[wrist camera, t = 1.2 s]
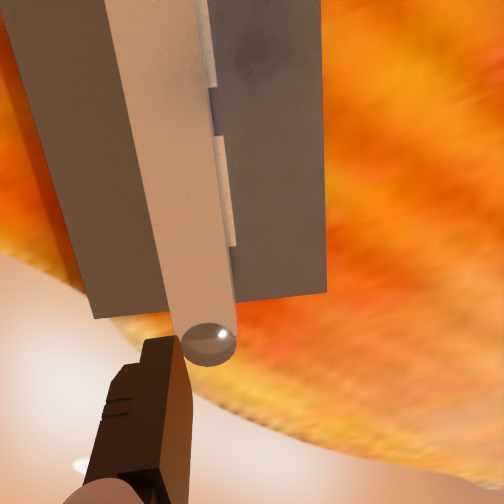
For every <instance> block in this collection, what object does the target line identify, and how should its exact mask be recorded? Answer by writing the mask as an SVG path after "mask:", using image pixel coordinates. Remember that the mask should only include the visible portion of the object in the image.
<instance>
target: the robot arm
mask: <svg viewBox="0 0 504 504" xmlns="http://www.w3.org/2000/svg"><path fill="white" fill-rule="evenodd" d="M192 421H193V397H192V389H191V384H190V380H189V376H188V372H187V368H186V364H185V360H184V356H183V352H182V348H181V344H180V340H179V338H178V336H177V335H173V336H166V337H159V338H152V339H145V341H144V343H143V348H142V353H141V358H140V363H133V364H126V365H124V366H123V367H122V368H121V370H120V371H119V372H118V374H117V375H116V376H115V378H114V379H113V380H112V381H111V384H110V387H109V391H108V395H107V398H106V405H105V406H104V409H103V413H102V421H100V424H99V428H98V431H97V436H96V439H95V443H94V447H93V450H92V454H91V457H90V461H89V465H88V468H87V472H86V476H85V479H84V482H83V485H82V487H81V488H79V489H78V490H76V491H75V492H74V493H73V494H72V495H71V496H69V497H68V498H67V499H66V501H65V502H64V503H63V504H188V496H189V477H190V458H191V440H192Z"/></svg>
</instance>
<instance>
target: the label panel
mask: <svg viewBox="0 0 504 504" xmlns="http://www.w3.org/2000/svg"><path fill="white" fill-rule="evenodd" d="M197 6H198V14H199V22H200V29H201V37H202V45H203V53H204V60H205V68H206V76H207V83H208V91H209V99H210V106H211V114H212V122H213V130H214V137H215V145H216V153H217V160H218V168H219V176H220V183H221V191H222V199H223V206H224V214H225V222H226V230H227V237H228V245H229V253H230V260H231V268H232V276H233V283H234V291H235V299H236V303H239V302H248V301H257V300H265V299H274V298H283V297H292V296H300V295H309V294H318V293H326V292H327V271H326V226H325V181H324V135H323V90H322V44H321V0H197ZM0 10H1V13H2V17H3V20H4V23H5V26H6V30H7V33H8V36H9V40H10V43H11V46H12V50H13V53H14V56H15V59H16V63H17V66H18V69H19V73H20V76H21V79H22V82H23V86H24V89H25V92H26V96H27V99H28V102H29V106H30V109H31V112H32V115H33V119H34V122H35V125H36V129H37V132H38V135H39V138H40V142H41V145H42V148H43V152H44V155H45V158H46V162H47V165H48V168H49V171H50V175H51V178H52V181H53V185H54V188H55V191H56V194H57V198H58V201H59V204H60V208H61V211H62V214H63V218H64V221H65V224H66V227H67V231H68V234H69V237H70V241H71V244H72V247H73V250H74V254H75V257H76V260H77V264H78V267H79V270H80V274H81V277H82V280H83V283H84V287H85V290H86V293H87V297H88V300H89V303H90V306H91V309H92V313H93V316H94V319H100V318H109V317H118V316H126V315H135V314H144V313H152V312H161V311H170V310H169V305H168V300H167V295H166V291H165V286H164V281H163V276H162V272H161V267H160V262H159V257H158V253H157V248H156V243H155V238H154V234H153V229H152V224H151V219H150V215H149V210H148V205H147V200H146V196H145V191H144V186H143V181H142V177H141V172H140V167H139V162H138V158H137V153H136V148H135V143H134V139H133V134H132V129H131V124H130V120H129V115H128V110H127V105H126V101H125V96H124V91H123V86H122V82H121V77H120V72H119V67H118V63H117V58H116V53H115V48H114V44H113V39H112V34H111V29H110V25H109V20H108V15H107V10H106V6H105V1H104V0H0Z"/></svg>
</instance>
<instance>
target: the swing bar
mask: <svg viewBox="0 0 504 504" xmlns="http://www.w3.org/2000/svg"><path fill="white" fill-rule="evenodd" d="M104 1H105V6H106V10H107V15H108V20H109V25H110V29H111V34H112V39H113V44H114V48H115V53H116V58H117V63H118V67H119V72H120V77H121V82H122V86H123V91H124V96H125V101H126V105H127V110H128V115H129V120H130V124H131V129H132V134H133V139H134V143H135V148H136V153H137V158H138V162H139V167H140V172H141V177H142V181H143V186H144V191H145V196H146V200H147V205H148V210H149V215H150V219H151V224H152V229H153V234H154V238H155V243H156V248H157V253H158V257H159V262H160V267H161V272H162V276H163V281H164V286H165V291H166V295H167V300H168V305H169V310H170V315H171V319H172V324H173V329H174V334H175V335H177V336H178V338H179V340H180V342H181V348H182V352H183V355H184V356H185V357H186V359H188V360H189V361H190V362H192V363H194V364H196V365H199V366H205V367H211V366H217V365H220V364H222V363H224V362H226V361H227V360H228V359H230V358H231V356H232V355H233V354H234V352H235V349H236V336H238V326H237V311H236V299H235V291H234V283H233V276H232V268H231V260H230V253H229V245H228V237H227V230H226V222H225V214H224V206H223V199H222V191H221V183H220V176H219V168H218V160H217V153H216V145H215V137H214V130H213V122H212V114H211V106H210V99H209V91H208V83H207V76H206V68H205V60H204V53H203V45H202V37H201V29H200V22H199V14H198V6H197V0H104Z"/></svg>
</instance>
